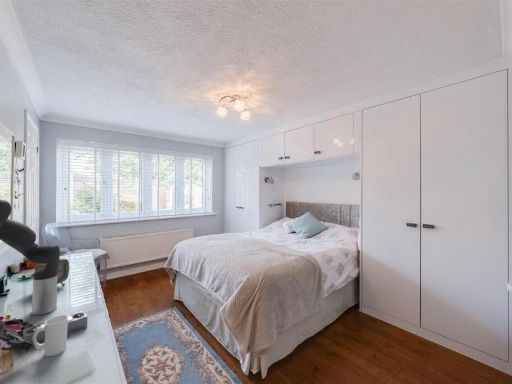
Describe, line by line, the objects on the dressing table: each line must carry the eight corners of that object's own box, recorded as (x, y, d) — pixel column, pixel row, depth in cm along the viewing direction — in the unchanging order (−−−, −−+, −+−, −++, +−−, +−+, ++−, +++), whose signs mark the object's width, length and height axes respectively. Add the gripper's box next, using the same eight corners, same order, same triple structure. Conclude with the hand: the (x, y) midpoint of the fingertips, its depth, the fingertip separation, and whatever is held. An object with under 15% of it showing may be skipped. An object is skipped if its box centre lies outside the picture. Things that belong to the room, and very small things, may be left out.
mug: (67, 342, 94) (67, 313, 94) (67, 351, 89) (68, 320, 89) (32, 353, 87) (33, 321, 87) (30, 363, 82) (31, 330, 82)
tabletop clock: (43, 295, 134) (45, 251, 134) (31, 293, 136) (32, 250, 136) (68, 285, 148) (69, 246, 148) (57, 283, 150) (58, 245, 150)
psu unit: (22, 341, 94) (23, 328, 94) (82, 321, 109) (83, 310, 109) (24, 349, 89) (25, 336, 89) (87, 327, 105) (87, 315, 105)
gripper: (-8, 324, 72) (43, 344, 82) (-10, 309, 81) (37, 329, 90) (-36, 350, 68) (22, 368, 78) (-34, 331, 77) (17, 349, 86)
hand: (30, 347), depth 84 cm, fingers closed
